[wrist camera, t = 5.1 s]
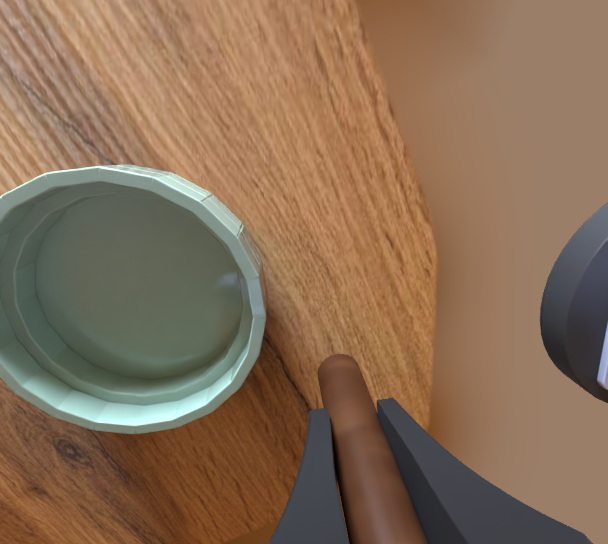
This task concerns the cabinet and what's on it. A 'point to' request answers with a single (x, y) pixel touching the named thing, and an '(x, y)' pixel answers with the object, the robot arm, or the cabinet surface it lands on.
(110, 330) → the celadon bowl
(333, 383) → the stirring stick
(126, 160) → the cabinet surface
